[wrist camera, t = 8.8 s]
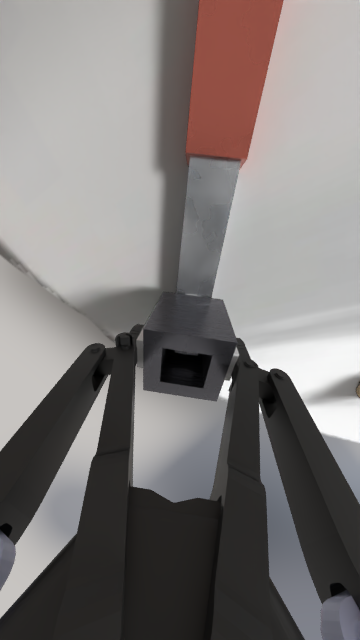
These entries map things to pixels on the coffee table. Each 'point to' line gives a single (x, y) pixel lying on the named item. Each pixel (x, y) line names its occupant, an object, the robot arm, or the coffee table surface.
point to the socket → (187, 346)
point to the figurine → (358, 390)
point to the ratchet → (221, 126)
